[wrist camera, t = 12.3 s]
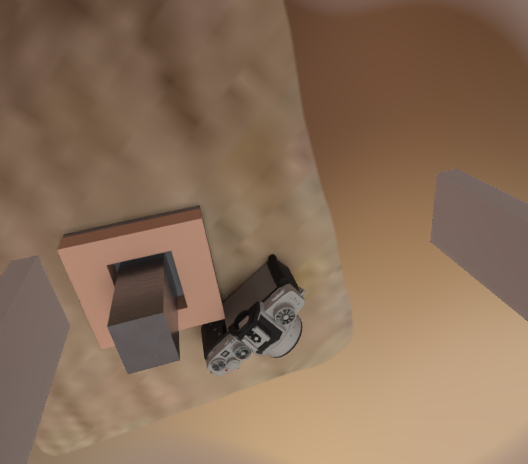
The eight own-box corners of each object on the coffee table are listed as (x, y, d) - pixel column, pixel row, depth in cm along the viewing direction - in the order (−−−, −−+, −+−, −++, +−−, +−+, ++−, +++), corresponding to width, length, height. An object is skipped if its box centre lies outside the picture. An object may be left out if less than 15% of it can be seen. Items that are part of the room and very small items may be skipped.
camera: (233, 354, 57) (246, 412, 48) (186, 323, 53) (190, 381, 44) (314, 283, 54) (342, 331, 46) (271, 245, 50) (293, 290, 42)
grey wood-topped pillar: (120, 258, 46) (107, 326, 35) (163, 248, 46) (163, 312, 36) (136, 299, 49) (127, 374, 38) (176, 289, 49) (179, 360, 39)
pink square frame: (64, 234, 44) (56, 249, 41) (199, 205, 46) (201, 218, 43) (105, 330, 51) (101, 349, 47) (221, 301, 52) (225, 318, 49)
